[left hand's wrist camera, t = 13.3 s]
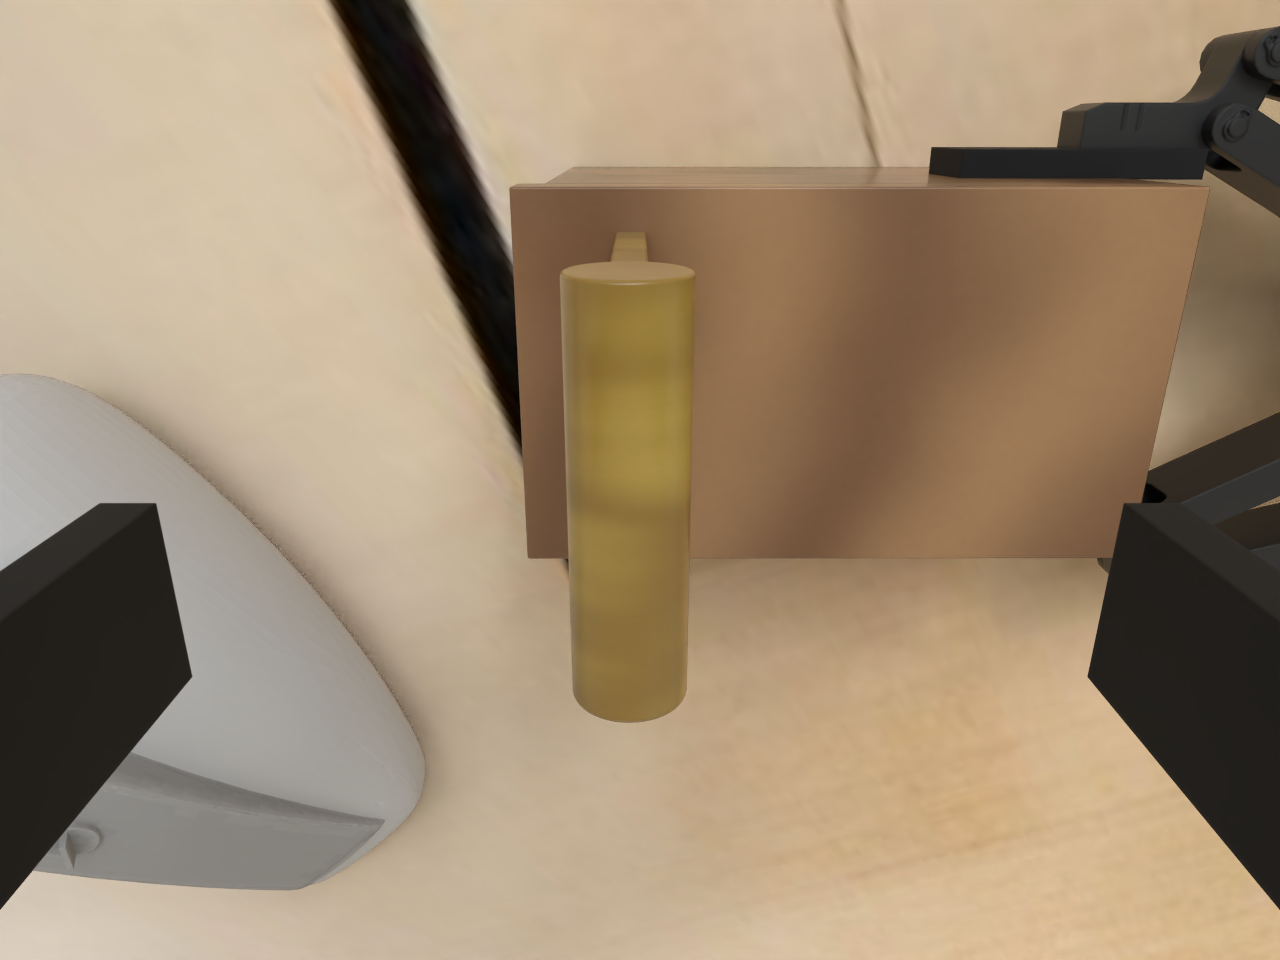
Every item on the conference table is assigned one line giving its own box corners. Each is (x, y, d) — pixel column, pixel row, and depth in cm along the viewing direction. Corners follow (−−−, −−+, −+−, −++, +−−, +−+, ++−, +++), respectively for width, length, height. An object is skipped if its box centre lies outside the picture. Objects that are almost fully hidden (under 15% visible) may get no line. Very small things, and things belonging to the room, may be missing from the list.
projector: (-41, 838, 41) (-372, 1187, 28) (-211, 347, 33) (-804, 501, 19) (442, 837, 41) (347, 1183, 28) (392, 347, 33) (223, 500, 20)
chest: (578, 425, 35) (556, 538, 25) (571, 166, 31) (544, 183, 22) (976, 425, 35) (1105, 537, 25) (1013, 166, 31) (1179, 183, 22)
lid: (533, 539, 25) (475, 763, 16) (516, 183, 22) (432, 220, 13) (1106, 538, 25) (1363, 761, 16) (1180, 183, 22) (1556, 221, 13)
